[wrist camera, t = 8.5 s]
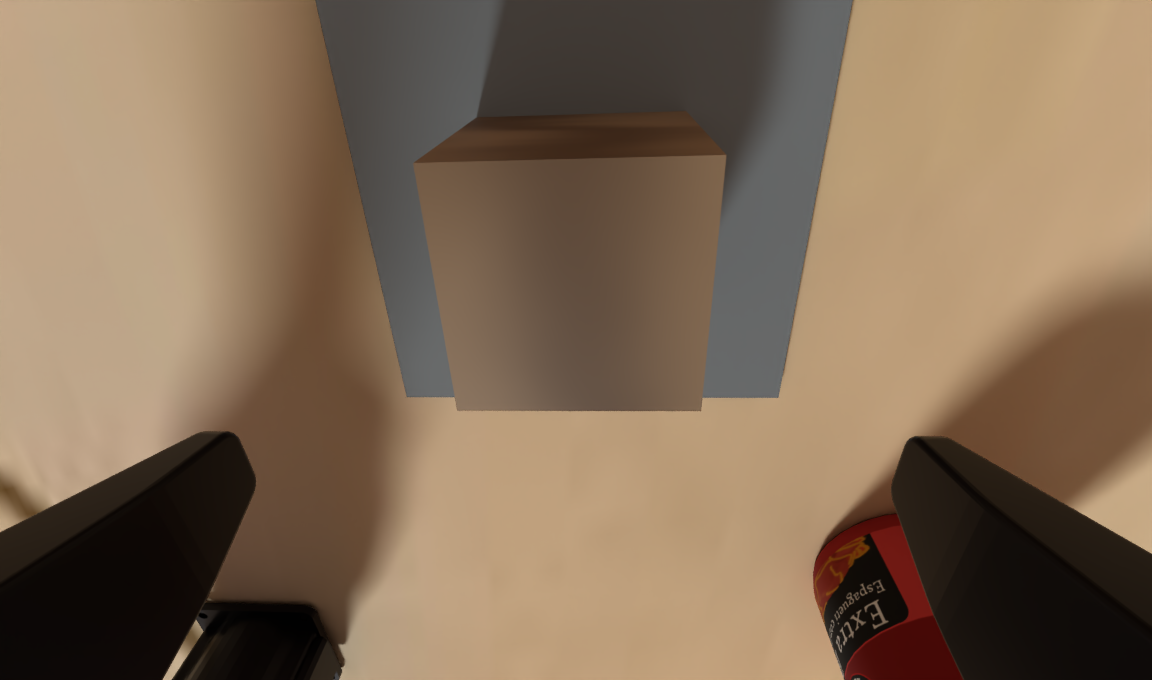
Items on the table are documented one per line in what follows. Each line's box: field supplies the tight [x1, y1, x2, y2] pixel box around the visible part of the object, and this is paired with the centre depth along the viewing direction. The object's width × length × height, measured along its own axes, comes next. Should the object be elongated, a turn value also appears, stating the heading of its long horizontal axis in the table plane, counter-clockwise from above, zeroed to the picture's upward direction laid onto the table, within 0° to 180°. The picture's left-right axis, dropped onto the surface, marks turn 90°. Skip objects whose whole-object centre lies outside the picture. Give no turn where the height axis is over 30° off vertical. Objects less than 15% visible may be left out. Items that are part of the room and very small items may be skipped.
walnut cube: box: [413, 111, 727, 411], centre depth 15 cm, size 6×6×6 cm
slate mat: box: [315, 0, 853, 398], centre depth 17 cm, size 14×14×1 cm
